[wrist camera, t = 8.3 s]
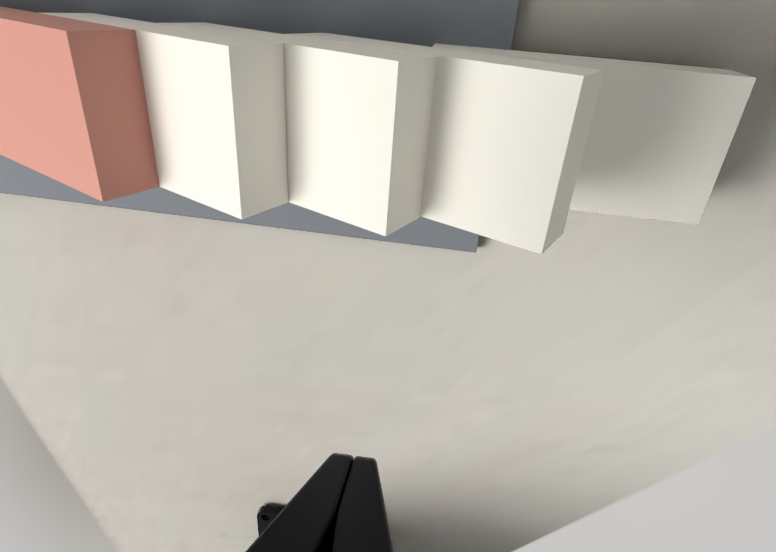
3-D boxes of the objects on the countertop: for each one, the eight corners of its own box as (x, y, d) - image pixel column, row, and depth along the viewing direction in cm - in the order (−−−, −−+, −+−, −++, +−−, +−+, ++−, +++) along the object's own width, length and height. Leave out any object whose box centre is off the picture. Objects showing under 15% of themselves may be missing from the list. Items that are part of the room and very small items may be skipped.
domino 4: (323, 163, 19) (562, 233, 15) (288, 174, 18) (541, 254, 13) (323, 32, 17) (604, 69, 13) (284, 33, 15) (584, 76, 11)
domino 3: (216, 151, 19) (420, 217, 15) (175, 162, 18) (385, 236, 14) (204, 22, 17) (437, 57, 13) (156, 22, 16) (398, 61, 12)
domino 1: (19, 130, 20) (159, 186, 16) (-35, 138, 19) (102, 202, 15) (-17, 3, 18) (135, 29, 14) (-81, 1, 17) (65, 30, 12)
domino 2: (117, 141, 20) (287, 202, 15) (68, 150, 18) (242, 219, 14) (92, 12, 18) (283, 43, 13) (36, 12, 16) (228, 46, 12)
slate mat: (476, 247, 20) (476, 252, 20) (-56, 181, 22) (-65, 184, 22) (527, -54, 15) (528, -55, 15) (-161, -102, 17) (-174, -104, 17)
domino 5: (421, 175, 19) (678, 204, 18) (416, 192, 17) (698, 224, 16) (434, 43, 16) (728, 69, 16) (430, 48, 15) (756, 77, 14)
